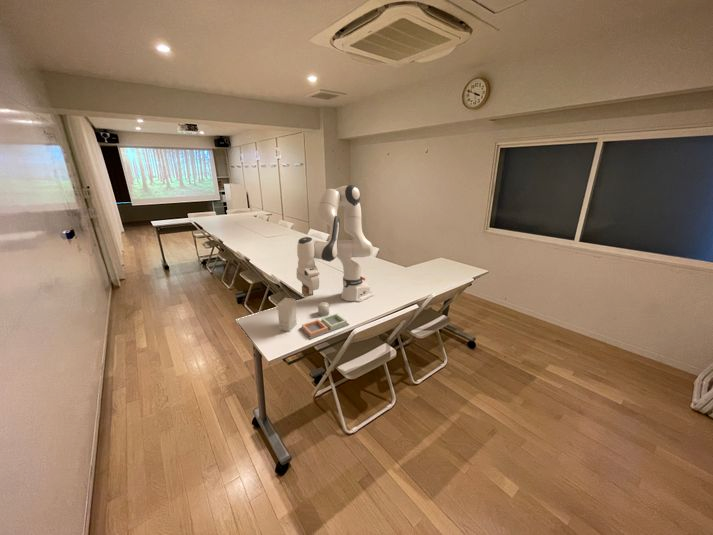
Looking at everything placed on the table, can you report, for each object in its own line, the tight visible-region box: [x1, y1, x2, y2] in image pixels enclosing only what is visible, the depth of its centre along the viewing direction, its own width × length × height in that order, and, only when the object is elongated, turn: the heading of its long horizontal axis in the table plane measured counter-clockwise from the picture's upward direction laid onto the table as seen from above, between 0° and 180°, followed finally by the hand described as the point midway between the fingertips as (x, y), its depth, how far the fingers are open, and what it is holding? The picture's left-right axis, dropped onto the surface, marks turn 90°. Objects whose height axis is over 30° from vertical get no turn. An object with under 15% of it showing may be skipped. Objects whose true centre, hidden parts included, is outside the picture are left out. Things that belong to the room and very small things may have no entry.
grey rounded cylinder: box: [317, 301, 330, 317], centre depth 161 cm, size 6×6×6 cm
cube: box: [301, 285, 314, 298], centre depth 150 cm, size 4×4×5 cm
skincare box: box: [277, 297, 298, 332], centre depth 145 cm, size 8×7×16 cm
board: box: [299, 313, 350, 340], centre depth 148 cm, size 24×12×3 cm, turn 127°
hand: (307, 291), depth 150 cm, fingers closed on cube, 4 cm apart
